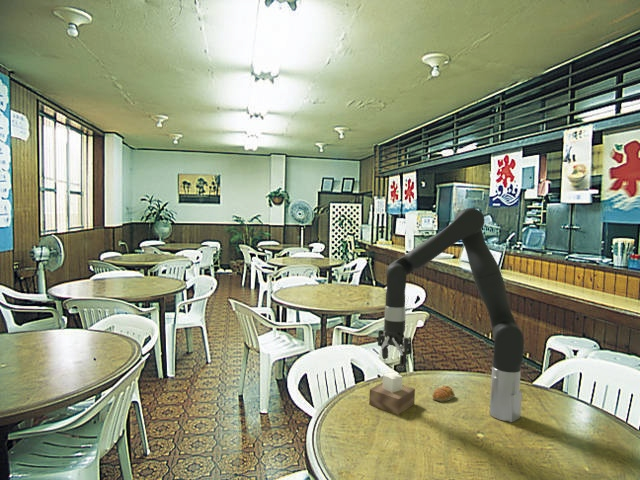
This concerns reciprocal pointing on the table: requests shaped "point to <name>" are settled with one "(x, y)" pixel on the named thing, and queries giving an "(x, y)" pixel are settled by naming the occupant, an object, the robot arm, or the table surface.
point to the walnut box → (392, 399)
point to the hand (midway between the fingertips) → (393, 361)
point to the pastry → (443, 393)
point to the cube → (392, 382)
